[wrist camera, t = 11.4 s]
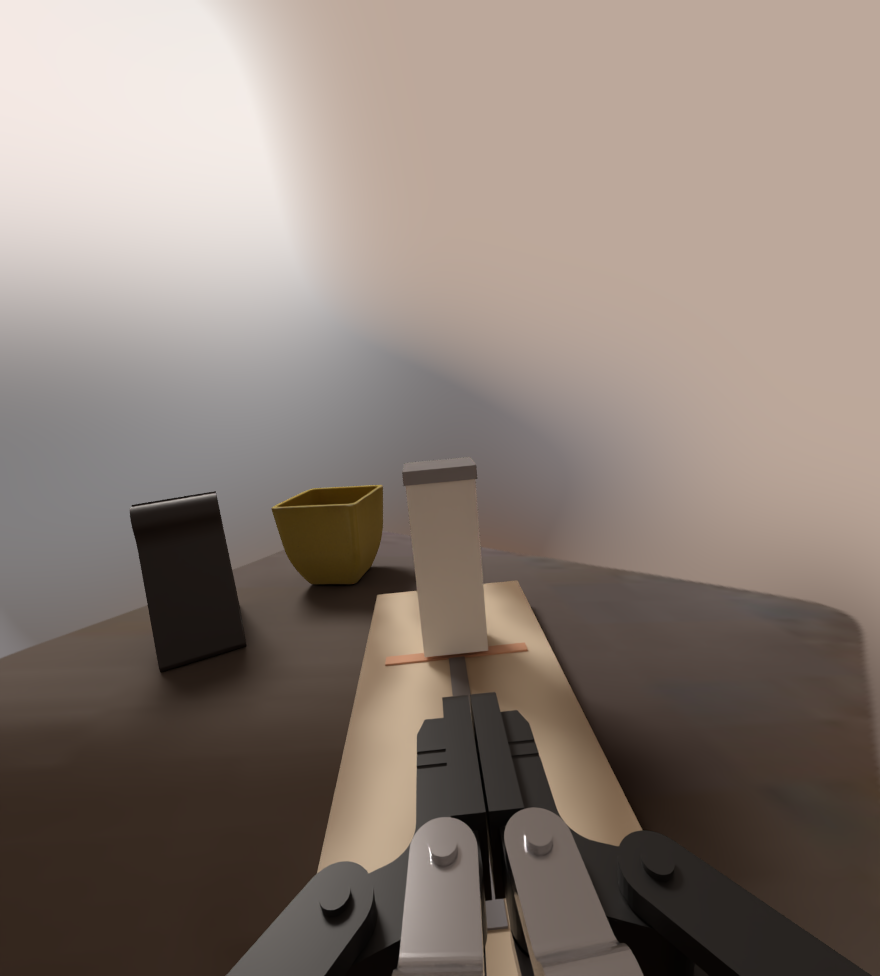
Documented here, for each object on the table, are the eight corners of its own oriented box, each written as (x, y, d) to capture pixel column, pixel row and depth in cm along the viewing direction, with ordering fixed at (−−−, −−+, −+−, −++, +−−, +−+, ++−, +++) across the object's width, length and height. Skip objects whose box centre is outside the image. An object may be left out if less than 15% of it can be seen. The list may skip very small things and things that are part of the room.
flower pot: (322, 560, 54) (311, 486, 52) (392, 559, 52) (383, 483, 50) (284, 594, 45) (268, 507, 43) (366, 594, 43) (354, 504, 41)
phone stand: (169, 623, 41) (138, 496, 39) (240, 604, 44) (215, 484, 41) (159, 674, 33) (120, 518, 31) (246, 647, 36) (216, 501, 33)
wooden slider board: (281, 1155, 11) (266, 1098, 11) (380, 616, 39) (377, 593, 38) (744, 1097, 12) (749, 1039, 11) (518, 602, 39) (517, 579, 39)
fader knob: (422, 658, 28) (402, 472, 25) (422, 631, 31) (404, 463, 29) (490, 651, 28) (476, 464, 26) (483, 625, 31) (470, 456, 29)
